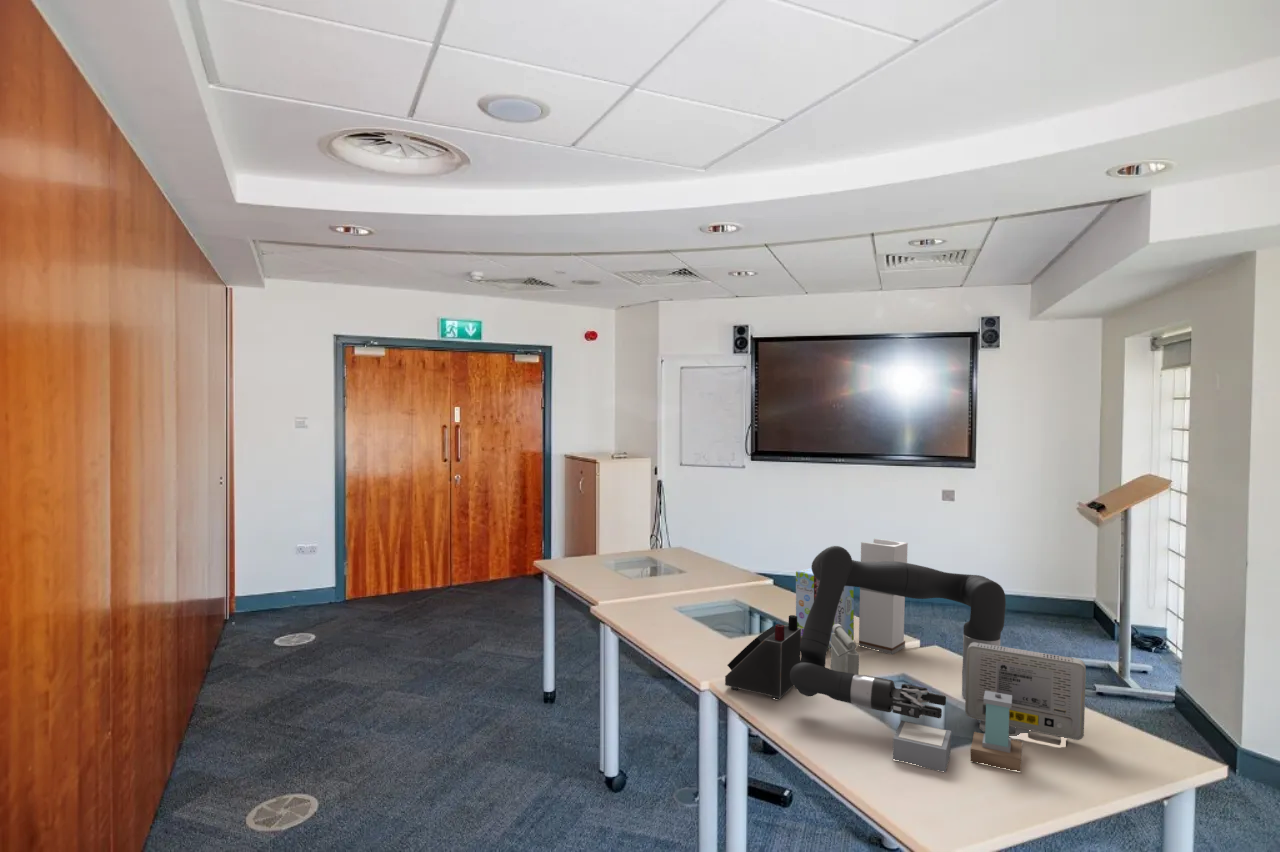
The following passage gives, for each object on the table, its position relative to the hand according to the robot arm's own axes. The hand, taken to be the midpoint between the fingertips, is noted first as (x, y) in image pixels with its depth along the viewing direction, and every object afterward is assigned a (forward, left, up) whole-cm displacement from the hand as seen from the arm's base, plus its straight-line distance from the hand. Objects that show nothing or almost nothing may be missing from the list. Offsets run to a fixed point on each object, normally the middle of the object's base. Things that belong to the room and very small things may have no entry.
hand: (943, 707), depth 170 cm
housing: (-8, +8, -6) cm, 13 cm away
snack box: (-13, -74, -10) cm, 76 cm away
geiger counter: (-1, -46, -10) cm, 47 cm away
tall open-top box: (-30, -67, -10) cm, 74 cm away
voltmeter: (+25, -44, -10) cm, 52 cm away
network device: (-24, -1, -10) cm, 26 cm away
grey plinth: (+8, +3, -9) cm, 13 cm away
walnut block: (-8, +8, -9) cm, 15 cm away
